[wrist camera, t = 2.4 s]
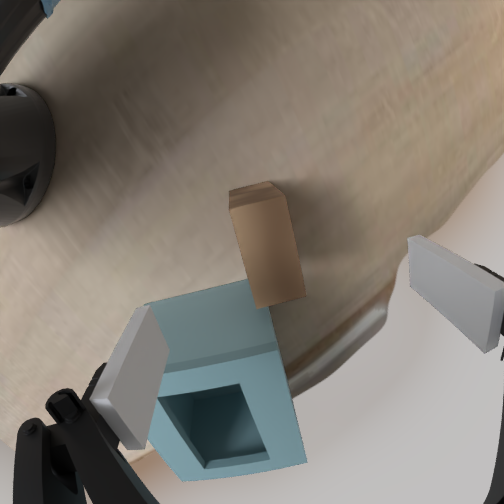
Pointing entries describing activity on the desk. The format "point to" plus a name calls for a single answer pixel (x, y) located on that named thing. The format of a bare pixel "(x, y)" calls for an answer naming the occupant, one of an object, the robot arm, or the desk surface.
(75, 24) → the desk surface
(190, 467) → the coin box
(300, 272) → the block
